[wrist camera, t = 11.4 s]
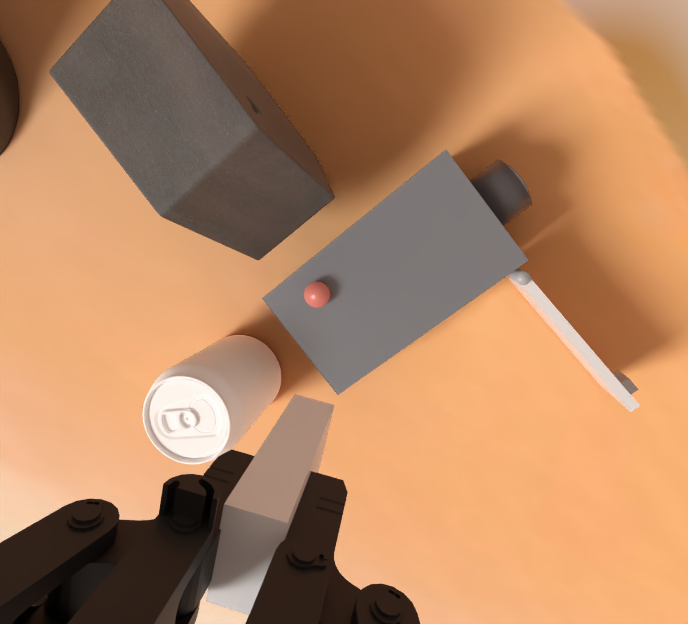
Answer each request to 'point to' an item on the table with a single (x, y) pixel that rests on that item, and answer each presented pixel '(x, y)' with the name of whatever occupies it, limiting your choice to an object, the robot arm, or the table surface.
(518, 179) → the camcorder
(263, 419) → the table surface
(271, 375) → the beverage can
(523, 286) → the door
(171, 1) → the grey bevelled block
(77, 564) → the robot arm
